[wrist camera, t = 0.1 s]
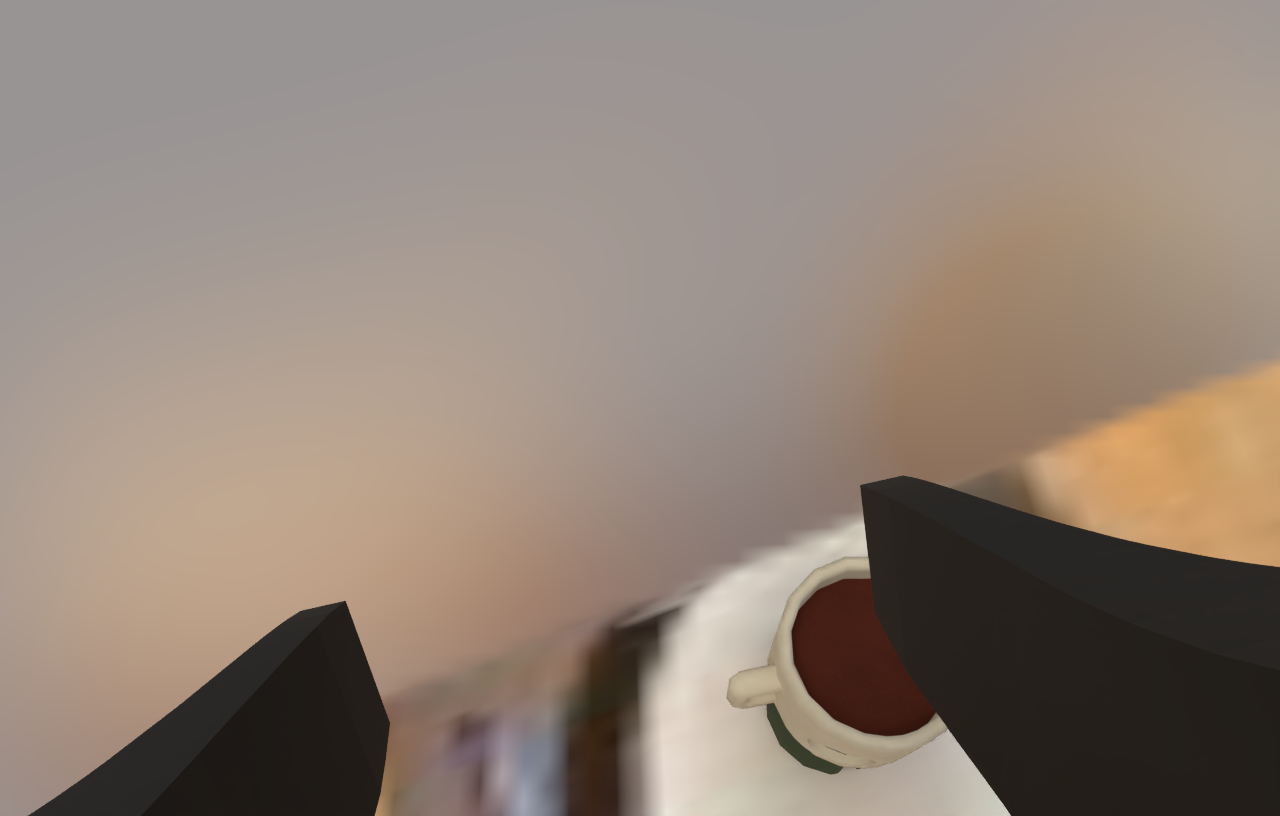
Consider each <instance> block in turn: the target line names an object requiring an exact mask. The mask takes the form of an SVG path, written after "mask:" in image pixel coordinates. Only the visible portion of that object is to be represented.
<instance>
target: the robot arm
mask: <svg viewBox="0 0 1280 816" xmlns="http://www.w3.org/2000/svg"><path fill="white" fill-rule="evenodd" d="M860 487H861V496H862V505H863V514H864V523H865V532H866V540H867V549H868V558H869V567H870V576H871V585H872V594H873V603H874V611H875V613H876V615H877V617H878V619H879V621H880V623H881V625H882V627H883V628H884V630H885V632H886V634H887V636H888V638H889V640H890V642H891V644H892V646H893V647H894V649H895V651H896V653H897V655H898V656H899V658H900V660H901V662H902V664H903V666H904V667H905V669H906V671H907V672H908V674H909V675H910V676H911V678H912V679H913V681H914V682H915V684H916V685H917V686H918V688H919V689H920V691H921V692H922V693H923V695H924V696H925V698H926V699H927V700H928V702H929V703H930V704H931V706H932V707H933V709H934V710H935V711H936V713H937V714H938V716H939V717H940V718H941V720H942V721H943V722H944V724H945V725H946V727H947V728H948V729H949V731H950V732H951V733H952V735H953V736H954V737H955V739H956V740H957V742H958V743H959V744H960V746H961V747H962V748H963V750H964V751H965V752H966V754H967V755H968V757H969V758H970V759H971V761H972V762H973V763H974V765H975V766H976V768H977V769H978V770H979V772H980V773H981V774H982V776H983V777H984V778H985V780H986V781H987V783H988V784H989V785H990V787H991V788H992V789H993V791H994V792H995V794H996V795H997V796H998V798H999V799H1000V800H1001V802H1002V803H1003V804H1004V806H1005V807H1006V809H1007V810H1008V812H1009V813H1010V815H1011V816H1280V567H1274V566H1266V565H1258V564H1251V563H1244V562H1238V561H1231V560H1225V559H1219V558H1213V557H1207V556H1202V555H1197V554H1191V553H1186V552H1181V551H1176V550H1171V549H1166V548H1161V547H1155V546H1150V545H1145V544H1141V543H1137V542H1132V541H1128V540H1123V539H1119V538H1115V537H1111V536H1107V535H1103V534H1100V533H1096V532H1092V531H1088V530H1085V529H1081V528H1077V527H1073V526H1069V525H1066V524H1062V523H1059V522H1055V521H1052V520H1048V519H1045V518H1042V517H1038V516H1035V515H1032V514H1028V513H1025V512H1022V511H1019V510H1016V509H1012V508H1009V507H1006V506H1003V505H1000V504H997V503H994V502H991V501H988V500H984V499H981V498H978V497H975V496H972V495H969V494H966V493H963V492H960V491H957V490H954V489H951V488H948V487H945V486H941V485H938V484H935V483H931V482H928V481H925V480H921V479H917V478H913V477H907V476H899V477H895V478H890V479H886V480H881V481H877V482H873V483H868V484H863V485H861V486H860ZM389 727H390V722H389V719H388V716H387V714H386V711H385V708H384V705H383V703H382V700H381V697H380V694H379V692H378V689H377V686H376V683H375V681H374V678H373V675H372V672H371V670H370V667H369V664H368V661H367V659H366V656H365V653H364V650H363V648H362V645H361V642H360V639H359V637H358V634H357V631H356V629H355V626H354V623H353V620H352V617H351V615H350V612H349V609H348V606H347V604H346V601H343V602H338V603H334V604H329V605H325V606H321V607H316V608H312V609H307V610H303V611H300V612H298V613H297V614H295V615H294V616H292V617H291V618H289V619H287V620H286V621H284V622H283V623H282V624H280V625H279V626H277V627H276V628H275V629H274V630H272V631H271V632H270V633H268V634H267V635H266V636H264V637H263V638H262V639H260V640H259V641H258V642H257V643H255V644H254V645H253V646H252V647H250V648H249V649H248V650H247V651H246V652H244V653H243V654H242V655H241V656H239V657H238V658H237V659H236V660H235V661H233V662H232V663H231V664H230V665H228V666H227V667H226V668H225V669H223V670H222V671H221V672H220V673H218V674H217V675H216V676H215V677H214V678H212V679H211V680H210V681H209V682H208V683H206V684H205V685H204V686H202V687H201V688H200V689H199V690H198V691H196V692H195V693H194V694H193V695H191V696H190V697H189V698H188V699H187V700H185V701H184V702H183V703H182V704H180V705H179V706H178V707H177V708H175V709H174V710H173V711H171V712H170V713H169V714H167V715H166V716H165V717H164V718H162V719H161V720H160V721H158V722H157V723H156V724H154V725H153V726H152V727H150V728H149V729H148V730H147V731H145V732H144V733H143V734H141V735H140V736H139V737H137V738H136V739H135V740H134V741H132V742H131V743H130V744H128V745H127V746H126V747H124V748H123V749H122V750H120V751H119V752H118V753H117V754H115V755H114V756H113V757H112V758H110V759H109V760H107V761H106V762H105V763H104V764H102V765H101V766H99V767H98V768H97V769H95V770H94V771H92V772H91V773H90V774H89V775H87V776H86V777H84V778H83V779H81V780H80V781H79V782H77V783H76V784H74V785H73V786H71V787H70V788H68V789H67V790H66V791H64V792H63V793H62V794H60V795H59V796H57V797H56V798H54V799H53V800H51V801H50V802H48V803H47V804H45V805H44V806H42V807H41V808H39V809H38V810H36V811H35V812H33V813H32V814H30V815H28V816H375V812H376V808H377V805H378V801H379V797H380V793H381V786H382V780H383V773H384V767H385V760H386V752H387V743H388V735H389Z"/></svg>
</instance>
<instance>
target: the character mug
mask: <svg viewBox="0 0 1280 816" xmlns="http://www.w3.org/2000/svg"><path fill="white" fill-rule="evenodd" d="M727 699H728V701H729V702H730V704H731V705H732V706H734V707H737V708H743V709H744V708H750V707H755V706H760V705H765V704H767V717H768V720H769V722H770V724H771V726H772V728H773V731H774V733H775V735H776V737H777V739H778V742H779V744H780V746H782V747H783V748H784V749H785V750H786V751H787V752H788V753H790V754H791V755H792V756H793V757H794V758H795V759H797V760H798V761H799V762H800V763H801V764H802V765H803V766H806V767H809V768H812V769H815V770H819V771H822V772H825V773H828V774H835V773H838V772H839V771H840V770H841V769H842V768H843V767H855V768H856V769H860V768H871V767H879V766H882V765H885V764H888V763H892V762H894V761H896V760H898V759H900V758H902V757H904V756H906V755H908V754H909V753H911V752H913V751H915V750H917V749H918V748H920V747H922V746H924V745H925V744H927V743H929V742H931V741H933V740H934V739H935V738H936V737H937V736H939V735H940V734H942V733H943V732H945V731H946V730H947V729H948V728H947V727H946V725H945V724H944V722H943V721H942V720H941V718H940V717H939V716H938V714H937V713H936V711H935V710H934V709H933V707H932V706H931V704H930V703H929V702H928V700H927V699H926V698H925V696H924V695H923V693H922V692H921V691H920V689H919V688H918V686H917V685H916V684H915V682H914V681H913V679H912V678H911V676H910V675H909V674H908V672H907V671H906V669H905V667H904V666H903V664H902V662H901V660H900V658H899V656H898V655H897V653H896V651H895V649H894V647H893V646H892V644H891V642H890V640H889V638H888V636H887V634H886V632H885V630H884V628H883V627H882V625H881V623H880V621H879V619H878V617H877V615H876V613H875V611H874V603H873V594H872V585H871V576H870V567H869V558H868V557H844V558H841V559H839V560H837V561H834V562H832V563H830V564H827V565H825V566H823V567H820V568H818V569H816V570H814V571H813V572H812V573H811V574H810V575H809V576H808V577H807V578H806V579H805V580H804V581H803V582H802V583H801V585H800V586H799V587H798V588H797V589H796V590H795V591H794V592H793V593H792V594H791V595H790V597H789V598H788V601H787V603H786V606H785V609H784V612H783V615H782V618H781V621H780V624H779V627H778V630H777V633H776V636H775V639H774V642H773V645H772V648H771V651H770V654H769V657H768V666H763V667H758V668H753V669H748V670H744V671H740V672H738V673H737V674H735V675H734V676H733V677H731V678H730V679H729V686H728V692H727Z"/></svg>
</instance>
